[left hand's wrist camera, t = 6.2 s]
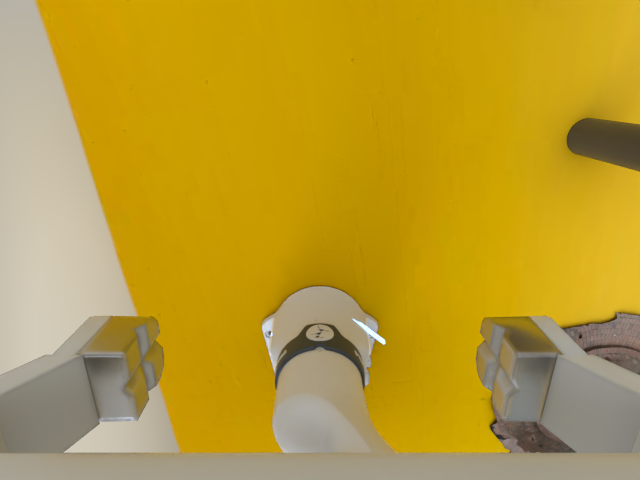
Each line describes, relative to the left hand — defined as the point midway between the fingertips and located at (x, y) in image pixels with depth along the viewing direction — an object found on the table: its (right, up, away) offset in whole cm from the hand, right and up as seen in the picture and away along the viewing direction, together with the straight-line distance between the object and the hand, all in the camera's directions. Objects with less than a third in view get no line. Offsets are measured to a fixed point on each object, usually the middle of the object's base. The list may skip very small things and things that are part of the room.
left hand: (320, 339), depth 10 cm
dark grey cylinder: (+36, +17, +45) cm, 60 cm away
